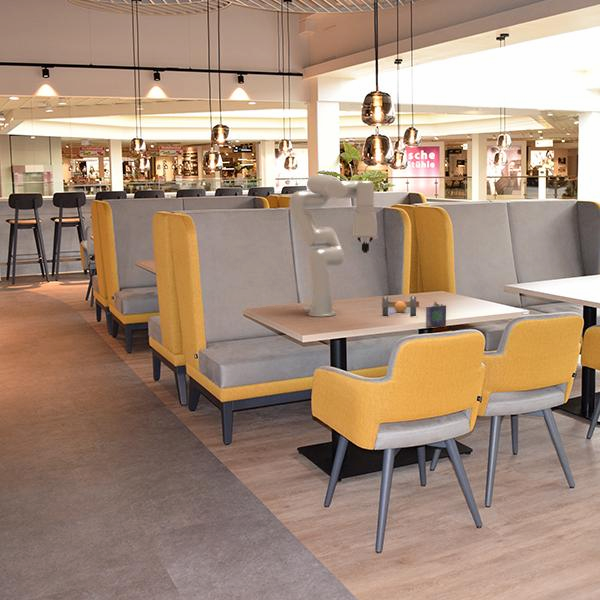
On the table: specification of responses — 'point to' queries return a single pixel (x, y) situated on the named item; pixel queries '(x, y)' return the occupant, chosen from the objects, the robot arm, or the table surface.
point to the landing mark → (392, 310)
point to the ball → (400, 306)
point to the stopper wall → (392, 303)
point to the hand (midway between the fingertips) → (365, 252)
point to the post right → (413, 306)
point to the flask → (436, 315)
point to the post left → (384, 306)
